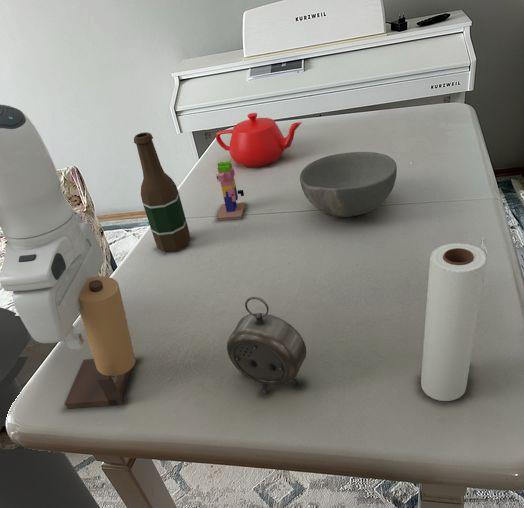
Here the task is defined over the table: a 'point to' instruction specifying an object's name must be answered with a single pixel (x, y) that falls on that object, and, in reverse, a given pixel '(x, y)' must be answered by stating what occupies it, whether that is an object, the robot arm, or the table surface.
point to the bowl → (349, 182)
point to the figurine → (229, 193)
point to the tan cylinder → (106, 326)
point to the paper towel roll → (451, 318)
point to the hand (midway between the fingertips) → (87, 324)
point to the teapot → (257, 141)
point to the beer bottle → (161, 199)
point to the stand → (95, 388)
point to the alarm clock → (266, 349)
